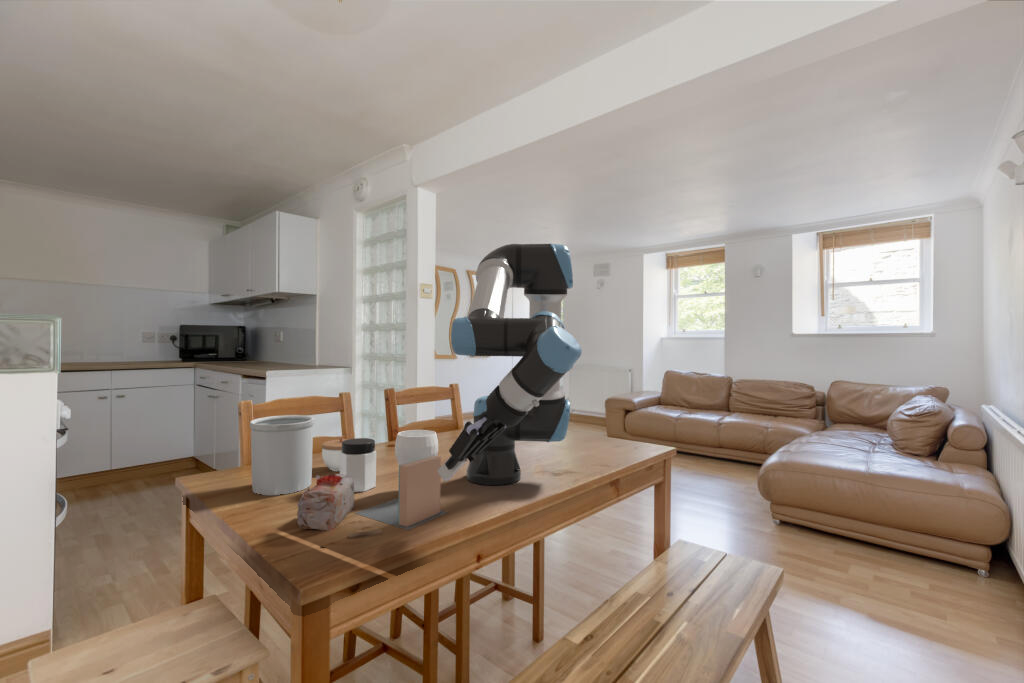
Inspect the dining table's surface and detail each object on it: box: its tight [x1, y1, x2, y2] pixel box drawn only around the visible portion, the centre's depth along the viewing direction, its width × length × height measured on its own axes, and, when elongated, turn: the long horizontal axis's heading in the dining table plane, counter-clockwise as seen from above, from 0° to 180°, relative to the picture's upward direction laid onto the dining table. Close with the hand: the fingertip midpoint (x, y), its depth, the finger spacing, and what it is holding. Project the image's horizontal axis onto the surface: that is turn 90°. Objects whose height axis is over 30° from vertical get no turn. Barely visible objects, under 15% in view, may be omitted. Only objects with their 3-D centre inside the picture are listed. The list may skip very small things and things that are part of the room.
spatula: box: [319, 528, 383, 550], centre depth 89 cm, size 11×4×1 cm, turn 113°
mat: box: [354, 498, 449, 531], centre depth 102 cm, size 16×12×1 cm
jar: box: [339, 437, 377, 493], centre depth 121 cm, size 9×8×12 cm
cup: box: [394, 429, 439, 466], centre depth 117 cm, size 11×11×15 cm
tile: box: [397, 455, 442, 527], centre depth 99 cm, size 2×10×12 cm, turn 147°
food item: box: [296, 473, 355, 532], centre depth 98 cm, size 14×8×10 cm, turn 1°
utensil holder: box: [249, 414, 315, 496], centre depth 121 cm, size 15×15×18 cm
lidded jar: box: [321, 436, 349, 472], centre depth 139 cm, size 11×11×9 cm
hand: (443, 475), depth 95 cm, fingers closed
